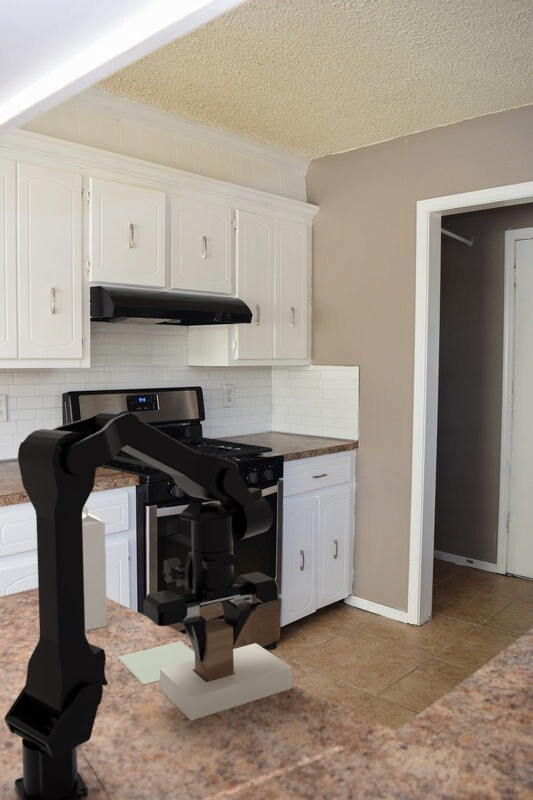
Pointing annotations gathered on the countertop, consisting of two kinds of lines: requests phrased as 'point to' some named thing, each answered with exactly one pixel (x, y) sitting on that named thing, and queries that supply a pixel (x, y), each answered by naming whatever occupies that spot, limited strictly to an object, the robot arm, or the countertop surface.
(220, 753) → the countertop surface
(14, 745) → the countertop surface
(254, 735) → the countertop surface
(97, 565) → the milk
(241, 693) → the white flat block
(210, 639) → the plug
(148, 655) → the mat
